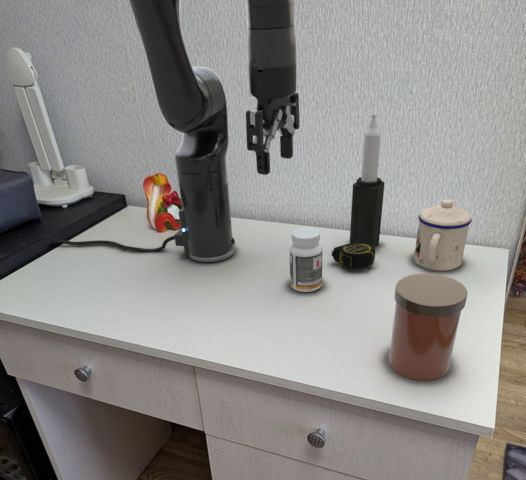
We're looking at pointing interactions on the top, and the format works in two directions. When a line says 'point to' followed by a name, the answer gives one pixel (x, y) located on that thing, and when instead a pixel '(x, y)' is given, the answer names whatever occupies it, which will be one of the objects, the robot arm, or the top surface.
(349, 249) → the tape measure
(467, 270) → the top surface
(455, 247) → the teacup with lid
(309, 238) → the pill bottle
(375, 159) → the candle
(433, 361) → the jar
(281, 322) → the top surface
